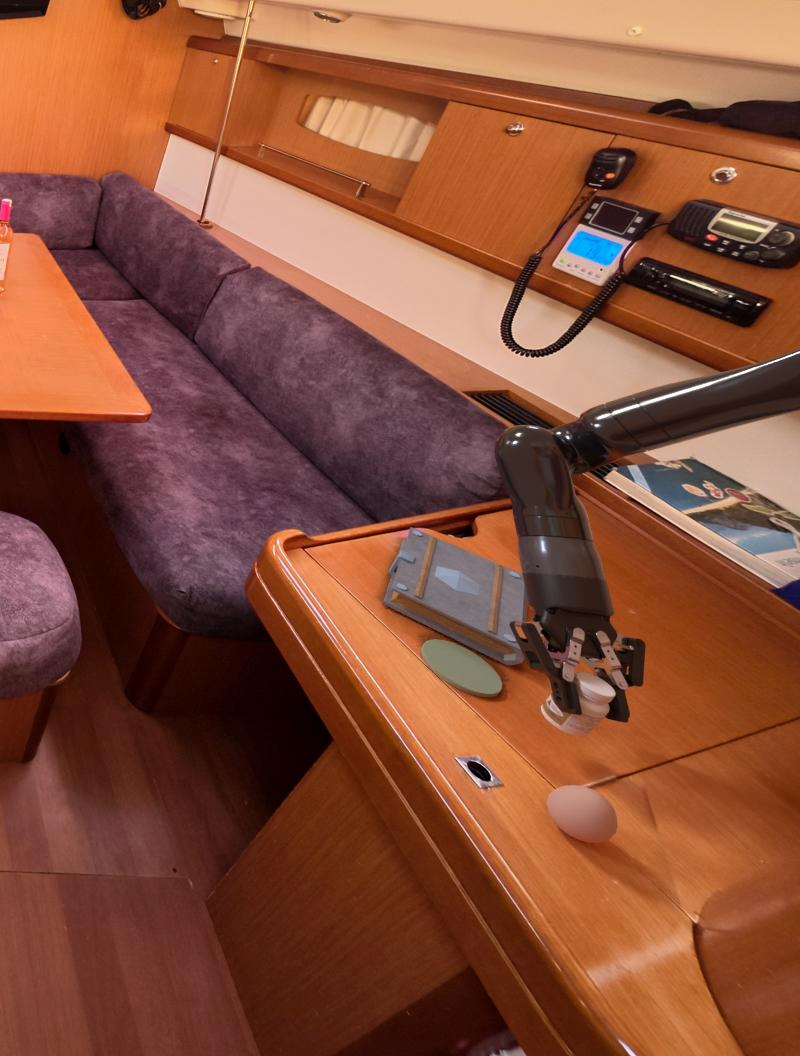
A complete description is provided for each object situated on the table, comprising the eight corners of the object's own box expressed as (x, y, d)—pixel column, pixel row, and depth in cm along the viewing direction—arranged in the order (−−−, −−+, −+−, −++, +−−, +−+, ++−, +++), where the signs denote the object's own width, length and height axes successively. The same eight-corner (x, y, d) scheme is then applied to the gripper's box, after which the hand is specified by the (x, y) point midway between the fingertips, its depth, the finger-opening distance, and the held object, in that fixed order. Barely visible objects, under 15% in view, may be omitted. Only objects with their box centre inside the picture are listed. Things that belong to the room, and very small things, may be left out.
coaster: (497, 666, 94) (499, 663, 93) (502, 710, 88) (505, 706, 87) (420, 632, 99) (422, 628, 99) (420, 671, 93) (422, 667, 92)
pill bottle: (533, 699, 84) (563, 662, 81) (576, 714, 83) (609, 676, 79) (548, 728, 81) (581, 691, 77) (594, 744, 79) (630, 706, 76)
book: (514, 671, 93) (532, 649, 91) (378, 603, 104) (391, 582, 101) (519, 595, 106) (535, 574, 104) (398, 542, 117) (410, 522, 115)
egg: (571, 808, 76) (603, 777, 73) (611, 858, 72) (646, 826, 69) (524, 800, 77) (554, 768, 74) (560, 848, 72) (593, 817, 69)
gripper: (528, 567, 81) (558, 714, 76) (655, 583, 79) (695, 736, 74) (478, 566, 88) (503, 700, 83) (594, 581, 86) (626, 719, 81)
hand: (593, 716), depth 78 cm, fingers closed on pill bottle, 4 cm apart
